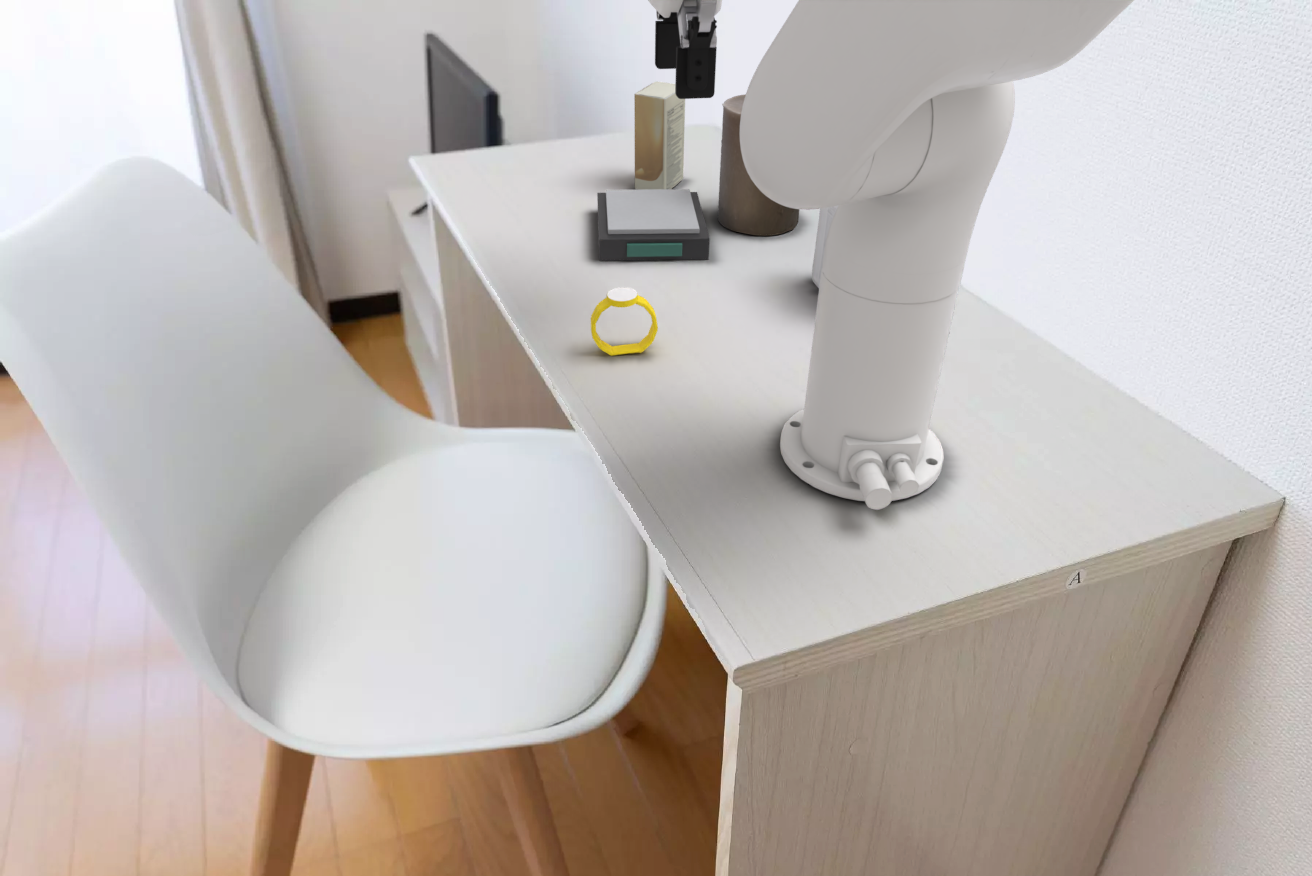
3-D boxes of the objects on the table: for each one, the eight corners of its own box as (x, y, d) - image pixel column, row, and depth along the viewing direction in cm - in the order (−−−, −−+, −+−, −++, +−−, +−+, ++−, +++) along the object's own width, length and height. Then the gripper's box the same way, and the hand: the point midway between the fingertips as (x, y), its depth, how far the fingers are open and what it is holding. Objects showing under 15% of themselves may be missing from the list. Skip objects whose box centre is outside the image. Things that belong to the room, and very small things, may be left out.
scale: (709, 261, 106) (710, 234, 104) (599, 262, 105) (599, 235, 103) (696, 211, 118) (697, 186, 116) (597, 212, 117) (597, 187, 115)
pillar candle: (807, 234, 112) (822, 103, 104) (725, 238, 111) (733, 106, 102) (785, 203, 120) (797, 79, 112) (708, 207, 119) (715, 81, 110)
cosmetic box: (654, 174, 128) (656, 79, 121) (684, 180, 126) (687, 84, 119) (632, 190, 123) (632, 92, 116) (663, 196, 122) (665, 97, 115)
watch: (654, 342, 91) (655, 284, 87) (658, 357, 88) (659, 298, 85) (590, 346, 90) (589, 287, 86) (593, 361, 88) (591, 302, 84)
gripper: (624, -156, 81) (625, 59, 90) (661, -140, 67) (657, 112, 76) (712, -155, 82) (704, 57, 91) (766, -139, 68) (750, 109, 77)
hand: (683, 82), depth 84 cm, fingers open, 9 cm apart
